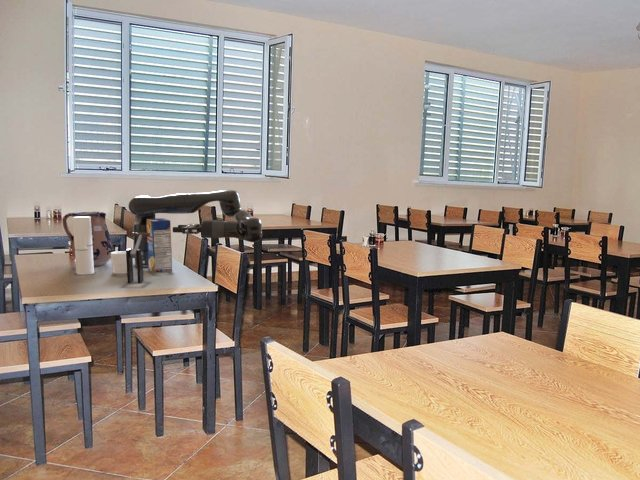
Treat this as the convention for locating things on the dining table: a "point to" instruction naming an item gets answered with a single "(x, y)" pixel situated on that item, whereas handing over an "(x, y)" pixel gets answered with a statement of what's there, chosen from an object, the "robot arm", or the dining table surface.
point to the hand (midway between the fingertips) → (175, 228)
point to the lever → (138, 242)
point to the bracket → (130, 266)
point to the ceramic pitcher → (94, 236)
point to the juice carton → (159, 245)
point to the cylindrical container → (83, 245)
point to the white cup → (119, 262)
